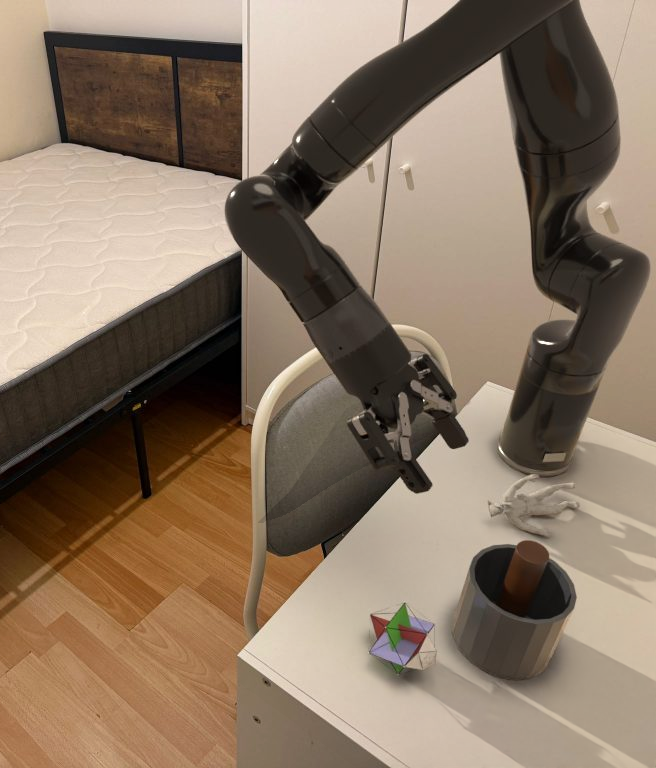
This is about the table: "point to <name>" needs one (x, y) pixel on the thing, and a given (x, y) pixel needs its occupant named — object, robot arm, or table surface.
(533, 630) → the tin
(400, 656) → the geometric puzzle
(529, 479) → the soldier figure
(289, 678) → the table surface
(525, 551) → the cylinder
